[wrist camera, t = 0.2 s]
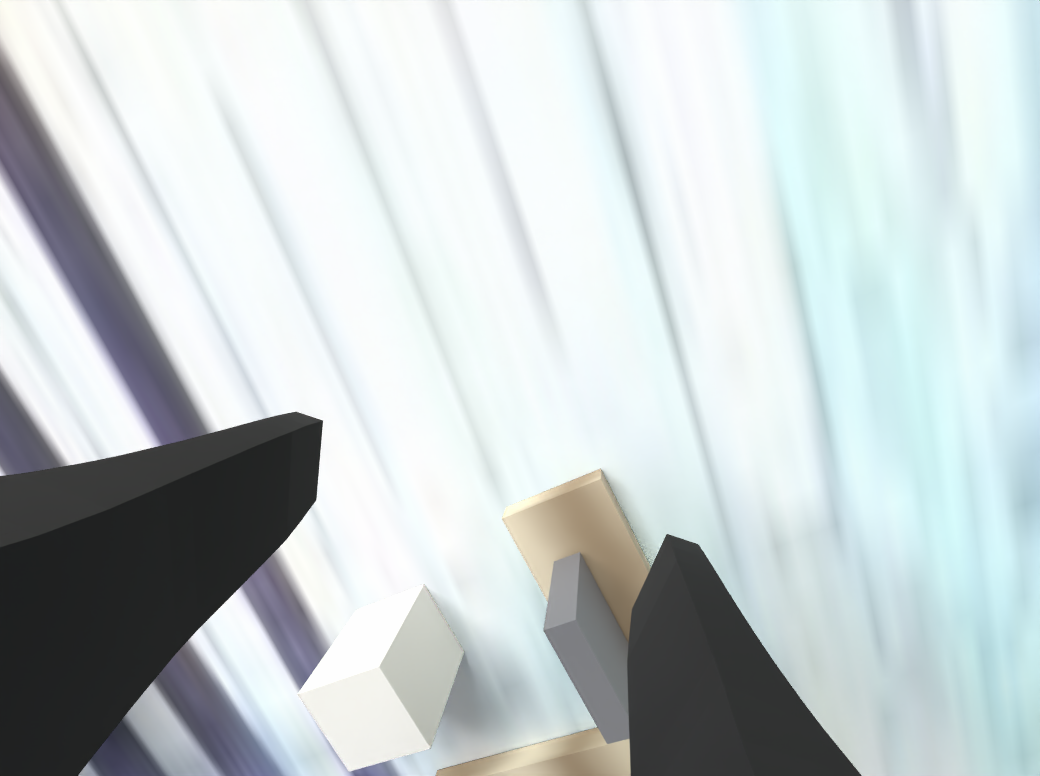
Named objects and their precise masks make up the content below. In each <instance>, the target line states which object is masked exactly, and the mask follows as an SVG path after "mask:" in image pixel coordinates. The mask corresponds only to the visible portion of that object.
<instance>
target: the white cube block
mask: <svg viewBox="0 0 1040 776" xmlns="http://www.w3.org/2000/svg"><path fill="white" fill-rule="evenodd" d="M463 654H464V650H463V648H462V647H461V645H460V643H459V642H458V640H457V638H456V637H455V635H454V633H453V632H452V630H451V628H450V627H449V625H448V623H447V622H446V620H445V618H444V616H443V615H442V613H441V611H440V610H439V608H438V606H437V605H436V603H435V601H434V600H433V598H432V596H431V595H430V593H429V591H428V590H427V588H426V586H425V585H424V584H423V585H420V586H418V587H415V588H412V589H410V590H407V591H404V592H402V593H399V594H397V595H394V596H391V597H389V598H386V599H383V600H381V601H378V602H376V603H373V604H370V605H368V606H365V607H362V608H360V609H357V610H356V611H355V613H354V614H353V616H352V617H351V618H350V620H349V621H348V623H347V624H346V626H345V627H344V628H343V630H342V631H341V633H340V634H339V636H338V637H337V638H336V640H335V641H334V643H333V644H332V646H331V647H330V648H329V650H328V651H327V653H326V654H325V656H324V657H323V658H322V660H321V661H320V663H319V664H318V666H317V667H316V668H315V670H314V671H313V673H312V674H311V676H310V677H309V678H308V680H307V681H306V683H305V684H304V686H303V687H302V688H301V690H300V691H299V693H298V694H297V695H298V696H299V698H300V699H301V701H302V702H303V704H304V705H305V707H306V708H307V710H308V711H309V713H310V714H311V716H312V717H313V719H314V720H315V722H316V723H317V725H318V726H319V728H320V729H321V731H322V732H323V733H324V735H325V736H326V738H327V739H328V741H329V742H330V744H331V745H332V747H333V748H334V750H335V751H336V753H337V754H338V756H339V757H340V759H341V760H342V762H343V763H344V765H345V766H346V768H347V769H348V771H353V770H356V769H360V768H363V767H367V766H370V765H374V764H378V763H381V762H385V761H388V760H392V759H395V758H399V757H403V756H406V755H410V754H413V753H417V752H420V751H424V750H428V749H431V746H432V743H433V741H434V738H435V735H436V732H437V729H438V726H439V723H440V720H441V718H442V715H443V712H444V709H445V706H446V703H447V700H448V697H449V695H450V692H451V689H452V686H453V683H454V680H455V677H456V674H457V672H458V669H459V666H460V663H461V660H462V657H463Z"/></svg>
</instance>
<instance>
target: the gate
mask: <svg viewBox="0 0 1040 776" xmlns="http://www.w3.org/2000/svg"><path fill="white" fill-rule="evenodd" d="M544 632H545V634H546V636H547V638H548V639H549V641H550V643H551V645H552V647H553V648H554V650H555V652H556V654H557V656H558V657H559V659H560V661H561V663H562V664H563V666H564V668H565V670H566V672H567V673H568V675H569V677H570V679H571V681H572V682H573V684H574V686H575V688H576V689H577V691H578V693H579V695H580V697H581V698H582V700H583V702H584V704H585V706H586V707H587V709H588V711H589V713H590V715H591V716H592V718H593V720H594V722H595V723H596V725H597V727H598V729H599V731H600V732H601V734H602V736H603V738H604V740H605V741H606V743H607V744H610V743H614V742H618V741H622V740H626V739H629V711H628V677H627V657H628V644H629V643H628V641H627V639H626V638H625V636H624V634H623V632H622V630H621V628H620V626H619V624H618V622H617V621H616V619H615V617H614V615H613V613H612V611H611V609H610V607H609V605H608V604H607V602H606V600H605V598H604V596H603V594H602V592H601V590H600V588H599V587H598V585H597V583H596V581H595V579H594V577H593V575H592V573H591V572H590V570H589V568H588V566H587V564H586V562H585V560H584V558H583V556H582V555H581V553H580V552H579V553H576V554H573V555H570V556H568V557H565V558H562V559H559V560H557V561H554V564H553V571H552V577H551V584H550V590H549V597H548V604H547V610H546V617H545V624H544Z"/></svg>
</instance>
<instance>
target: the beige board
mask: <svg viewBox="0 0 1040 776" xmlns="http://www.w3.org/2000/svg"><path fill="white" fill-rule="evenodd" d="M502 520H503V522H504V524H505V525H506V527H507V529H508V531H509V533H510V534H511V536H512V538H513V540H514V542H515V544H516V545H517V547H518V549H519V551H520V553H521V554H522V556H523V558H524V560H525V562H526V563H527V565H528V567H529V569H530V571H531V573H532V574H533V576H534V578H535V580H536V582H537V583H538V585H539V587H540V589H541V591H542V592H543V594H544V596H545V598H546V600H547V602H548V597H549V590H550V584H551V577H552V571H553V564H554V561H557V560H559V559H562V558H565V557H568V556H570V555H573V554H576V553H579V552H580V553H581V555H582V556H583V558H584V560H585V562H586V564H587V566H588V568H589V570H590V572H591V573H592V575H593V577H594V579H595V581H596V583H597V585H598V587H599V588H600V590H601V592H602V594H603V596H604V598H605V600H606V602H607V604H608V605H609V607H610V609H611V611H612V613H613V615H614V617H615V619H616V621H617V622H618V624H619V626H620V628H621V630H622V632H623V634H624V636H625V638H626V639H627V641H628V643H629V633H630V622H631V612H632V608H633V606H634V604H635V601H636V599H637V597H638V595H639V593H640V591H641V588H642V586H643V584H644V582H645V580H646V578H647V576H648V573H649V571H650V569H651V567H650V565H649V563H648V561H647V559H646V557H645V555H644V553H643V551H642V549H641V547H640V545H639V543H638V541H637V539H636V537H635V535H634V533H633V531H632V529H631V527H630V525H629V524H628V522H627V520H626V518H625V516H624V514H623V512H622V510H621V508H620V506H619V504H618V502H617V500H616V498H615V496H614V494H613V492H612V490H611V488H610V486H609V484H608V482H607V480H606V478H605V476H604V474H603V472H602V470H601V469H599V470H597V471H594V472H592V473H589V474H587V475H584V476H582V477H579V478H577V479H574V480H572V481H570V482H567V483H565V484H562V485H560V486H557V487H555V488H552V489H550V490H547V491H545V492H542V493H540V494H538V495H535V496H533V497H530V498H528V499H525V500H523V501H520V502H518V503H515V504H513V505H511V506H508V507H506V509H505V512H504V514H503V517H502ZM436 776H631V769H630V740H629V739H626V740H622V741H618V742H614V743H610V744H607V743H606V741H605V740H604V738H603V736H602V734H601V732H600V731H599V729H598V728H594V729H590V730H586V731H583V732H579V733H575V734H571V735H568V736H564V737H560V738H557V739H553V740H549V741H545V742H542V743H538V744H534V745H530V746H527V747H523V748H519V749H515V750H512V751H508V752H504V753H500V754H497V755H493V756H489V757H485V758H482V759H478V760H474V761H471V762H467V763H463V764H459V765H456V766H452V767H448V768H444V769H441V770H437V773H436Z"/></svg>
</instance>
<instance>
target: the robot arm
mask: <svg viewBox="0 0 1040 776" xmlns="http://www.w3.org/2000/svg"><path fill="white" fill-rule="evenodd" d="M322 426H323V421H322V420H319V419H316V418H313V417H310V416H307V415H304V414H301V413H298V412H292V413H287V414H282V415H278V416H274V417H270V418H266V419H262V420H258V421H254V422H251V423H247V424H243V425H240V426H236V427H232V428H229V429H225V430H221V431H217V432H214V433H210V434H206V435H202V436H199V437H195V438H191V439H188V440H184V441H180V442H175V443H171V444H167V445H163V446H158V447H154V448H150V449H146V450H142V451H137V452H133V453H129V454H125V455H120V456H116V457H111V458H106V459H101V460H96V461H91V462H86V463H81V464H75V465H70V466H64V467H58V468H52V469H46V470H40V471H34V472H28V473H21V474H14V475H6V476H0V776H78V775H79V773H80V772H81V771H82V769H83V768H84V767H85V766H86V764H87V763H88V762H89V760H90V759H91V758H92V757H93V755H94V754H95V753H96V752H97V750H98V749H99V748H100V746H101V745H102V744H103V743H104V741H105V740H106V739H107V738H108V736H109V735H110V734H111V733H112V731H113V730H114V729H115V728H116V726H117V725H118V724H119V722H120V721H121V720H122V719H123V717H124V716H125V715H126V714H127V712H128V711H129V710H130V709H131V707H132V706H133V705H134V704H135V702H136V701H137V700H138V699H139V697H140V696H141V695H142V694H143V693H144V691H145V690H146V689H147V688H148V687H149V685H150V684H151V683H152V682H153V681H154V679H155V678H156V677H157V676H158V675H159V673H160V672H161V671H162V670H163V669H164V667H165V666H166V665H167V664H168V662H169V661H170V660H171V659H172V658H173V656H174V655H175V654H176V653H177V652H178V651H179V650H180V648H181V647H182V646H183V645H184V644H185V643H186V642H187V641H188V640H189V639H190V638H191V636H192V635H193V634H194V633H195V632H196V631H197V630H198V629H199V628H200V627H201V626H202V625H203V624H204V623H205V622H206V621H207V620H208V619H209V618H210V617H211V616H212V615H213V614H214V613H215V612H216V611H217V610H218V609H219V608H220V607H221V606H222V605H223V604H224V603H225V602H226V601H227V600H228V599H229V598H230V597H231V596H232V595H233V594H234V593H235V592H236V591H237V590H238V589H239V588H240V587H241V586H242V585H243V584H244V583H245V581H246V580H247V579H248V578H249V577H250V576H251V575H252V574H253V573H254V572H255V571H256V570H257V569H258V568H259V567H260V566H261V565H262V564H263V563H264V562H265V561H266V560H267V559H268V558H269V557H270V556H271V555H272V554H273V553H274V552H275V551H276V550H277V549H278V548H279V547H280V546H281V545H282V544H283V543H284V541H285V540H286V539H287V538H288V537H289V536H290V534H291V533H292V532H293V530H294V529H295V528H296V527H297V525H298V524H299V523H300V521H301V520H302V519H303V517H304V516H305V515H306V513H307V512H308V511H309V509H310V508H311V506H312V505H313V504H314V502H315V501H316V497H317V485H318V473H319V461H320V449H321V437H322ZM627 677H628V711H629V740H630V769H631V776H861V774H860V773H859V772H858V771H857V769H856V768H855V767H854V766H853V765H852V763H851V762H850V761H849V760H848V758H847V757H846V756H845V755H844V753H843V752H842V751H841V750H840V749H839V747H838V746H837V745H836V744H835V742H834V741H833V740H832V739H831V738H830V736H829V735H828V734H827V733H826V731H825V730H824V729H823V728H822V726H821V725H820V724H819V722H818V721H817V720H816V719H815V717H814V716H813V715H812V713H811V712H810V711H809V709H808V708H807V707H806V705H805V704H804V703H803V701H802V700H801V699H800V697H799V696H798V694H797V693H796V692H795V690H794V689H793V688H792V686H791V685H790V683H789V682H788V681H787V679H786V678H785V676H784V675H783V674H782V672H781V671H780V670H779V668H778V667H777V665H776V664H775V662H774V661H773V660H772V658H771V657H770V655H769V654H768V652H767V651H766V649H765V648H764V646H763V645H762V643H761V642H760V640H759V639H758V637H757V636H756V634H755V633H754V631H753V630H752V628H751V627H750V625H749V624H748V622H747V621H746V619H745V618H744V616H743V614H742V613H741V611H740V610H739V608H738V607H737V605H736V603H735V602H734V600H733V599H732V597H731V595H730V594H729V592H728V591H727V589H726V587H725V586H724V584H723V583H722V581H721V579H720V578H719V576H718V574H717V573H716V571H715V570H714V568H713V566H712V565H711V563H710V562H709V560H708V558H707V557H706V555H705V554H704V552H703V551H702V549H701V548H700V546H699V545H698V544H696V543H693V542H690V541H687V540H684V539H681V538H678V537H674V536H671V535H668V534H667V535H666V537H665V539H664V541H663V543H662V545H661V548H660V550H659V552H658V554H657V556H656V558H655V560H654V563H653V565H652V567H651V569H650V571H649V573H648V576H647V578H646V580H645V582H644V584H643V586H642V588H641V591H640V593H639V595H638V597H637V599H636V601H635V604H634V606H633V608H632V612H631V622H630V633H629V644H628V657H627Z"/></svg>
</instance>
